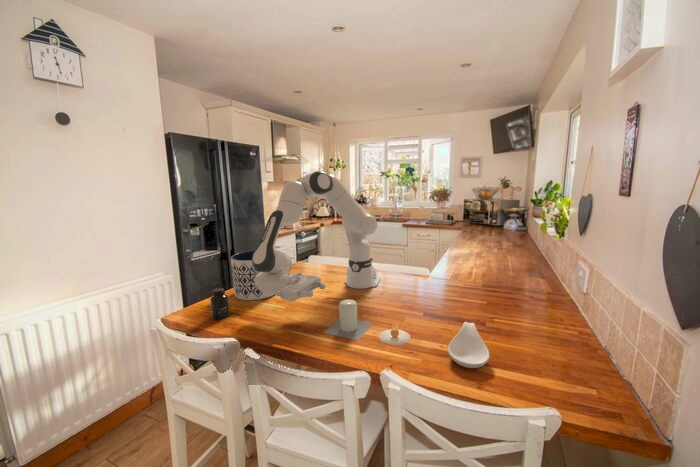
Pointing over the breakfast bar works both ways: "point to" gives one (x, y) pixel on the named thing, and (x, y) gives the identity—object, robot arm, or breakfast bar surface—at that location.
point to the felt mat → (355, 334)
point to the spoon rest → (468, 347)
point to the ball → (394, 332)
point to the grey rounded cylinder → (348, 315)
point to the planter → (245, 277)
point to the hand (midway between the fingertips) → (318, 290)
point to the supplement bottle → (219, 304)
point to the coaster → (391, 340)
